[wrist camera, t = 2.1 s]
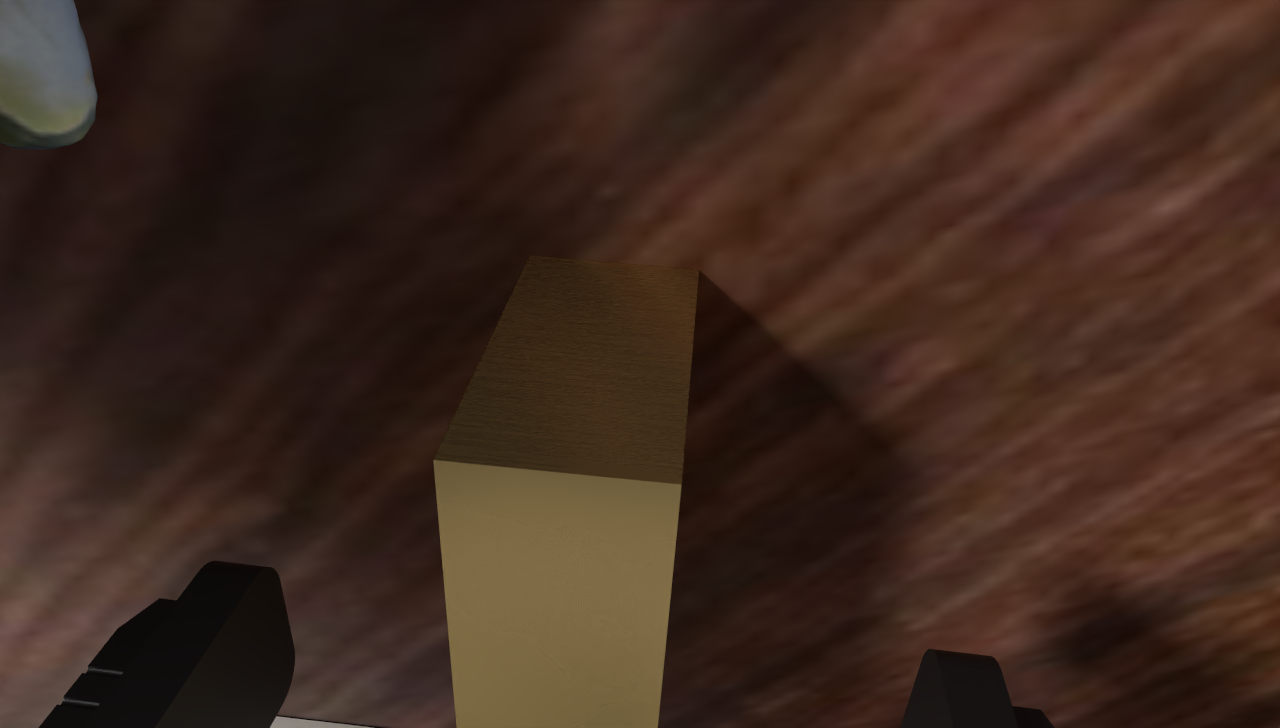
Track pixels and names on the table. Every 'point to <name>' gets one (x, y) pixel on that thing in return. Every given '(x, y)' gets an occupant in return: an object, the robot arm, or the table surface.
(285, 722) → the tissue box
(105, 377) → the table surface
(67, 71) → the passion flower
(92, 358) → the table surface
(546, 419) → the tan wooden block
